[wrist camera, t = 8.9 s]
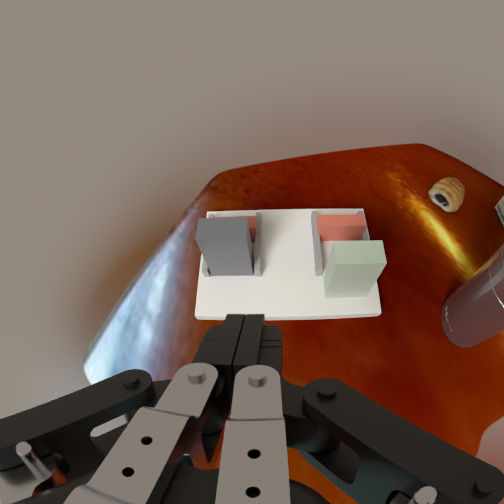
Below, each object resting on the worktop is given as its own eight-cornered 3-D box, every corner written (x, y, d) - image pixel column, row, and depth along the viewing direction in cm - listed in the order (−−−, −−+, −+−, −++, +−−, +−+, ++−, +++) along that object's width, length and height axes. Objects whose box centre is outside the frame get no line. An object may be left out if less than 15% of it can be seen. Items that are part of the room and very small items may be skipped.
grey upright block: (253, 257, 46) (246, 216, 37) (253, 275, 44) (245, 237, 35) (213, 257, 46) (198, 218, 38) (212, 275, 45) (195, 238, 36)
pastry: (445, 176, 53) (451, 164, 50) (468, 197, 50) (476, 185, 47) (424, 196, 51) (431, 183, 48) (450, 219, 48) (458, 207, 45)
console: (361, 214, 50) (368, 193, 45) (378, 316, 41) (390, 302, 36) (209, 217, 52) (202, 196, 47) (197, 319, 43) (186, 306, 38)
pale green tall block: (363, 277, 42) (382, 240, 34) (366, 296, 41) (386, 262, 32) (323, 278, 43) (333, 240, 34) (324, 298, 41) (336, 264, 33)
